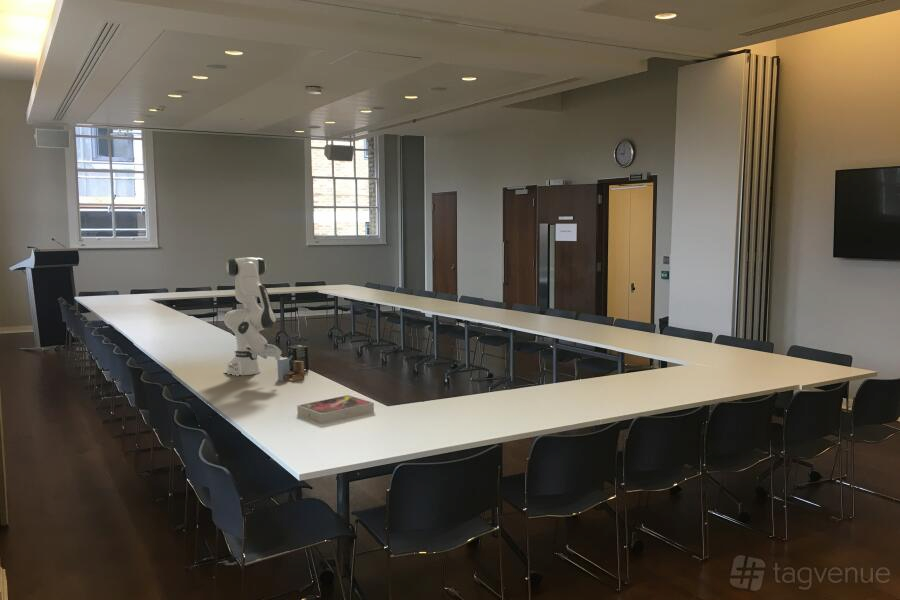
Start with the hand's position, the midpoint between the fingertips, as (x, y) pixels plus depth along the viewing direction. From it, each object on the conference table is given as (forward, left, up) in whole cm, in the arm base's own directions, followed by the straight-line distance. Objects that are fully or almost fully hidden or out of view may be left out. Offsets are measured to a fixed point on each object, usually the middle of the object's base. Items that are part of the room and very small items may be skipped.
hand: (272, 358), depth 403 cm
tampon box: (-10, +33, -14) cm, 37 cm away
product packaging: (+74, -38, -14) cm, 84 cm away
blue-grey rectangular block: (0, +9, -14) cm, 16 cm away
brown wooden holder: (+7, +10, -14) cm, 18 cm away
